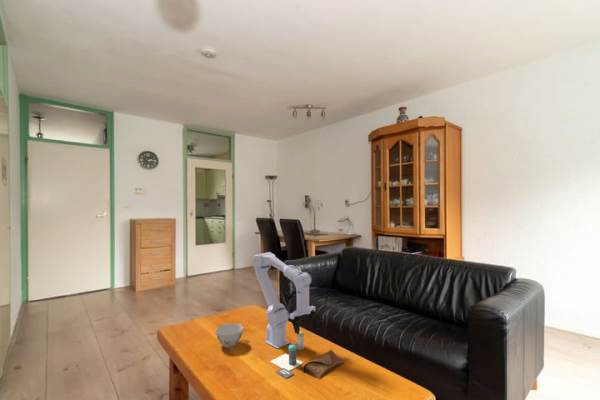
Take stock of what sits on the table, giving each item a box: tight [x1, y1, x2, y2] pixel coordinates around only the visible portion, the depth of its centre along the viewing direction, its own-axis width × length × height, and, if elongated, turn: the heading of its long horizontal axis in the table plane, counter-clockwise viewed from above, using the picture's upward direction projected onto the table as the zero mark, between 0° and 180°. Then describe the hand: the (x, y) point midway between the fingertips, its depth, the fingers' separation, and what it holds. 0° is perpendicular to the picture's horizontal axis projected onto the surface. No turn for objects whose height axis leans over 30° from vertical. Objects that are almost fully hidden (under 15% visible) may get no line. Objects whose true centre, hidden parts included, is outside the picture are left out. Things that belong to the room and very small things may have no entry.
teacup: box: [215, 322, 244, 349], centre depth 142 cm, size 15×12×8 cm
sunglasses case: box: [302, 349, 346, 380], centre depth 122 cm, size 18×7×7 cm
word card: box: [275, 368, 294, 380], centre depth 117 cm, size 6×4×1 cm, turn 45°
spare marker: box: [296, 330, 305, 351], centre depth 138 cm, size 3×3×7 cm
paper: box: [269, 353, 304, 372], centre depth 125 cm, size 11×9×1 cm
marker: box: [288, 343, 298, 365], centre depth 124 cm, size 3×3×7 cm
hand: (303, 330), depth 134 cm, fingers open, 7 cm apart
